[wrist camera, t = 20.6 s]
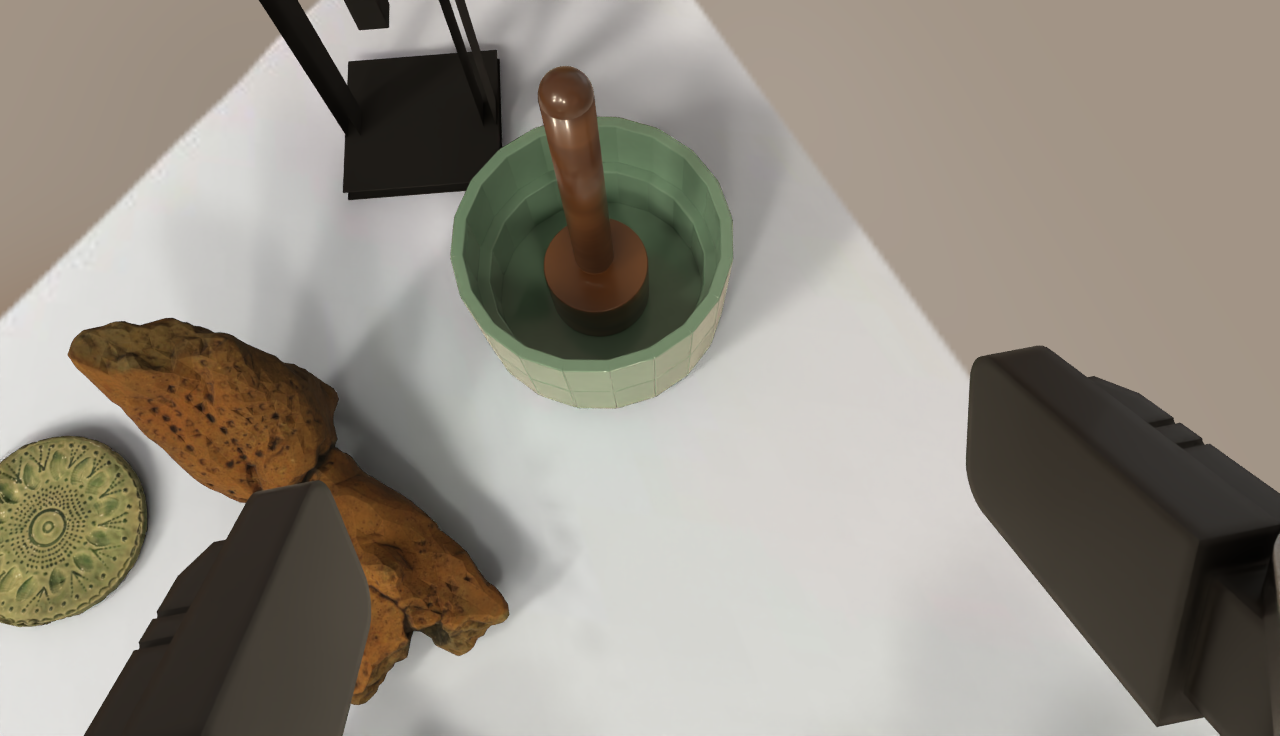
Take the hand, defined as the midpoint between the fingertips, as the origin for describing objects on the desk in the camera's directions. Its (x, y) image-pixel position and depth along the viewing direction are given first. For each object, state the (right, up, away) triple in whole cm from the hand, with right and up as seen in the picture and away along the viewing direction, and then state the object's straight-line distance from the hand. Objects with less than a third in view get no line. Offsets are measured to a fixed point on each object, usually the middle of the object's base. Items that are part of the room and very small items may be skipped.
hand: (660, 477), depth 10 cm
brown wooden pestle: (-2, +5, +26) cm, 27 cm away
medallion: (-25, -6, +24) cm, 35 cm away
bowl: (-2, +5, +27) cm, 27 cm away
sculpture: (-12, -5, +24) cm, 28 cm away
